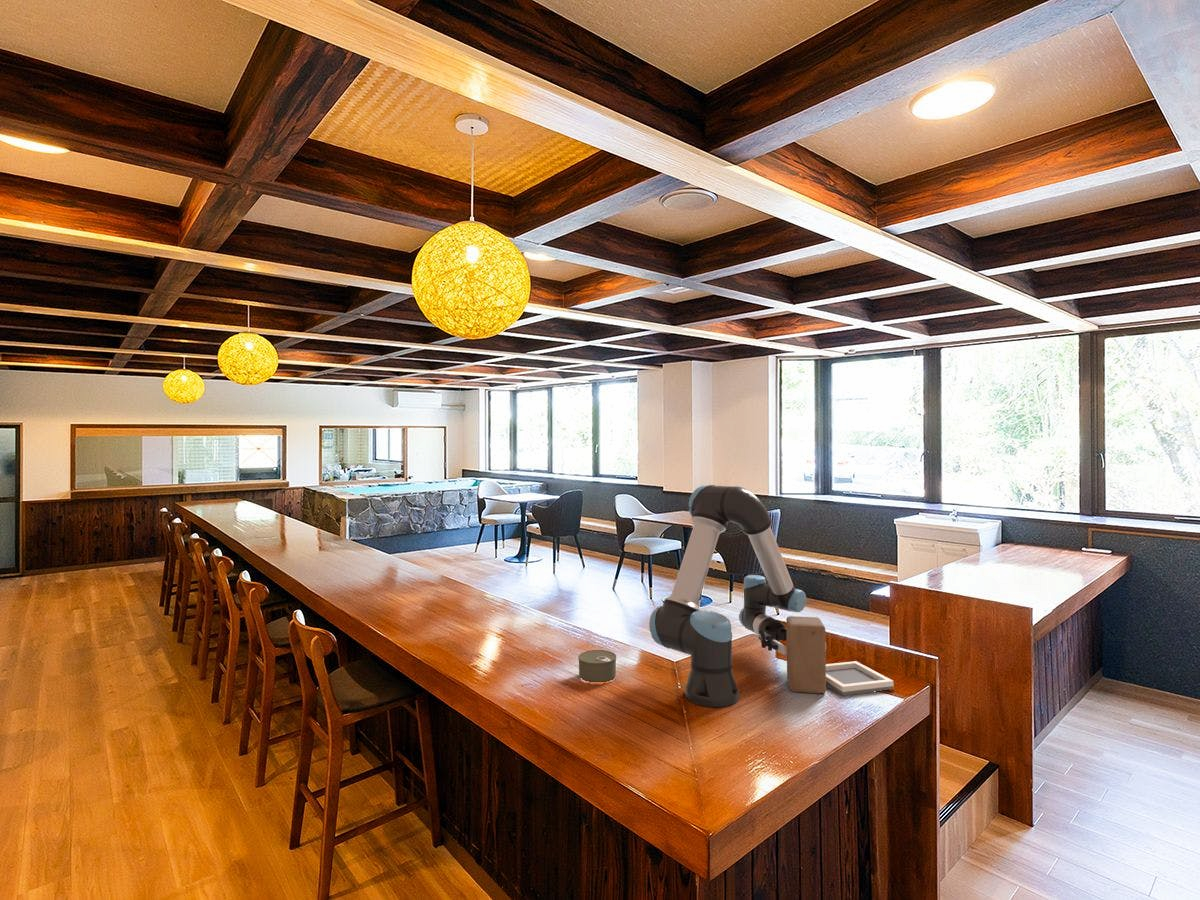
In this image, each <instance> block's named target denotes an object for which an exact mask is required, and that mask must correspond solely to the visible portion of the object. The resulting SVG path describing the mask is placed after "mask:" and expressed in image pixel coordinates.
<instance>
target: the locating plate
mask: <svg viewBox="0 0 1200 900" xmlns="http://www.w3.org/2000/svg"><path fill="white" fill-rule="evenodd" d="M826 685H827V686H826V687H828V686H829V687H830V688H829V687H828V688H829V689H831V690H832V689H833V691H834V692H836V693H837V694H839V695H840V696H842V697H846V696H847V695H849V696H855V695H854V694H857V695H862V694H861V693H865V694H869V693H868V692H874V691H880V690H889V689H895V688H894V680H893V679H891V678H889V677H887V676H885V675H883V674H881V673H879V672H877V671H875V670H873V669H872V668H870V667H868V666H866V665H864V664H862V663H860V662H859V661H857V660H854V661H844V662H836V663H826ZM874 693H875V692H874ZM847 697H848V696H847Z"/></svg>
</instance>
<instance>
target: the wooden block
mask: <svg viewBox="0 0 1200 900" xmlns="http://www.w3.org/2000/svg"><path fill="white" fill-rule="evenodd" d="M785 622H786V625H785V626H786V627H785V628H786V629H787V640H786V679H787V683H788V685H789V689H790V691H791V692H794V693H809V694H821V693H822V694H825V693H826V691H827V686H826V664H827V658H826V656H827V654H826V653H827V642H826V626H825V625H824V623H823V622H822V619H821V618H819V617H815V616H793V615H789V616H787V617H786V621H785Z"/></svg>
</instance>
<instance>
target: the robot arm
mask: <svg viewBox="0 0 1200 900" xmlns="http://www.w3.org/2000/svg"><path fill="white" fill-rule="evenodd" d="M688 507H689V508H688V511H689V514H690V516H691V517H690V521H691V522H692V524H693V527H692V531H691V534H690V537H689V539H688V542H687V545H686V548H685V552H684V554H683V558H682V561H681V564H680V566H679V570H678V573H677V576H676V579H675V582H674V584H673V585H674V586H673V589H672V590H671V591H672V592H671V594H670V596H667V597H666V598H664V600H663V603H662V605H660V606H657V607H656V608H654V609H653V611H652V612H651V614H650V616H649V626H648V627H649V628H648V629H649V632H650V635H651V638H652V640H653V641H654V642H655V643H656V644H657V645H660V646H662V647H664V648H666V649H671V650H674V651H676V652H680V653H684V654H685V655H689V656H690V670H689V674H688V677H687V681H686V684H685V688H684V691H685V695H686V696H685V697H687V698H688V699H689V700H688V699H687V698H686V699H687V700H688V701H689V702H692V703H693V704H695V705H699V706H702V705H703V707H708V706H709V707H708V708H723V707H728V706H731V705H734V704H736V703H737V702H738V701H739V688H738V686H737V683H736V679H735V676H734V672H733V665H732V664H733V658H732V657H733V652H732V651H733V650H732V649H733V648H732V647H733V644H732V643H733V641H732V640H733V632H732V625H731V621H730V619H729V618H728V617H727V616H725V615H723V614H722V613H719V612H716V611H713V610H712V611H708V610H701V609H700V607H699V606H698V605H699V601H700V598H701V595H702V592H703V589H704V585H705V581H706V578H707V576H708V572H709V569H710V566H711V563H712V560H713V557H714V553H715V550H716V546H717V543H718V540H719V537H720V534H722V533H724V532H726V529H727V527H728V524H729V523H730V524H731V523H732V524H736V525H738V526H739V527H740V528H741V530H742V533H743V534H745V535H746V536H748V539H749V541H750V544H751V546H752V549H753V550H754V551H753V552H754V553H755V555H756V558H757V559H758V562H759V565H760V567H761V570H762V572H763V574H764V576H762V575H758V574H748V575H746V576H744V579H743V588H742V589H743V608H742V609H741V610H740V612H739V614H738V620H739V622H740V624H741V626H743V627H745V629H746V630H748V631H751V632H753V633H754V634H756V635H757V636H758V639H759V640H760V644H761V648H762V649H765V648H766V647H767V650H768V651H773V650H774V651H776V652H778V653H779V654H781V655H782V656H787V645H784V644H783V643H781V642H780V641H783V642H786V641H787V627H785V626H784V624H783V623H782V622H781V621H780V620H777V619H775V618H774V617H772V616H769V615H768V614H767V613H766V612H767V611H766V609H767V607H769V608H775V609H778V610H783V611H787V612H793V613H801V612H802V611H803V610H805V607H806V605H807V595H806V593H805V592H804V591H803V590H802V589H799V588H795V585H794V583H793V581H792V579H791V576H790V573H789V571H788V567H787V565H786V563H785V561H784V558H783V555H782V552H781V550H780V548H779V545H778V542H777V540H776V537H775V536H774V532H773V530H772V528H771V526H772V524H773V522H772V519H771V516H770V514H769V511H768V509H767V508H766V506H765V505H764V504H763V502H762V501H761V500H760V498H758V496H756V495H755V494H754V493H753V492H751V491H750V490H749V489H747V488H745V487H741V486H728V485H714V484H709V485H701V486H698V487H697V488H695V490H693V492H692V493H691V495H690V497H689V501H688Z"/></svg>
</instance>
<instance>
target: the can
mask: <svg viewBox="0 0 1200 900" xmlns="http://www.w3.org/2000/svg"><path fill="white" fill-rule="evenodd" d="M577 658H578V675H579V676H580V678H582V679H583V680H585V681H589V682H607V681H610V680H613V679H614V678H615V676H616V675H617V666H616V665H617V662H616V661H617V654H615V653H614V652H612V651H610V650H609V651H608V650H603V649H593V650H587V651H584V652H581V653H580V654H579V655H578V657H577ZM579 676H578V677H579ZM616 677H617V676H616Z"/></svg>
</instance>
